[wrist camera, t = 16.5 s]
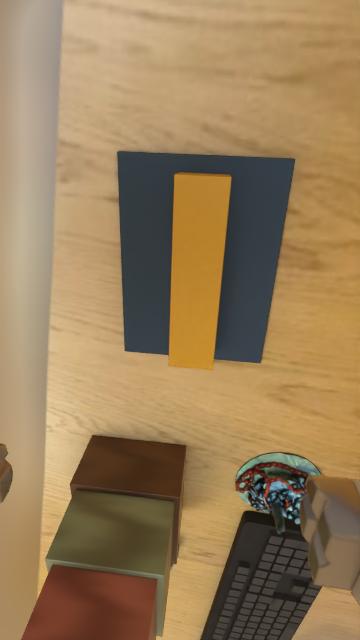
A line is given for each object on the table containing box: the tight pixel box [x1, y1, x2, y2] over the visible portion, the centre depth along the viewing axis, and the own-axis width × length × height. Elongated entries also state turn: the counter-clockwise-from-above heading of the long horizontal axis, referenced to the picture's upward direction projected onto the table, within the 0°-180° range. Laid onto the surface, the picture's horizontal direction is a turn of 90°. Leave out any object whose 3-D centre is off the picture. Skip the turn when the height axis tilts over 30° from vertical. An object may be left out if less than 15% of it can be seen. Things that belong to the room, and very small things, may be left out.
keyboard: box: [201, 511, 322, 640], centre depth 45 cm, size 35×11×2 cm, turn 172°
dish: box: [236, 453, 321, 534], centre depth 36 cm, size 8×7×8 cm
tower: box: [21, 436, 186, 640], centre depth 30 cm, size 10×10×17 cm
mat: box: [117, 151, 295, 363], centre depth 27 cm, size 12×16×1 cm
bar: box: [169, 172, 232, 370], centre depth 25 cm, size 4×14×3 cm, turn 178°
